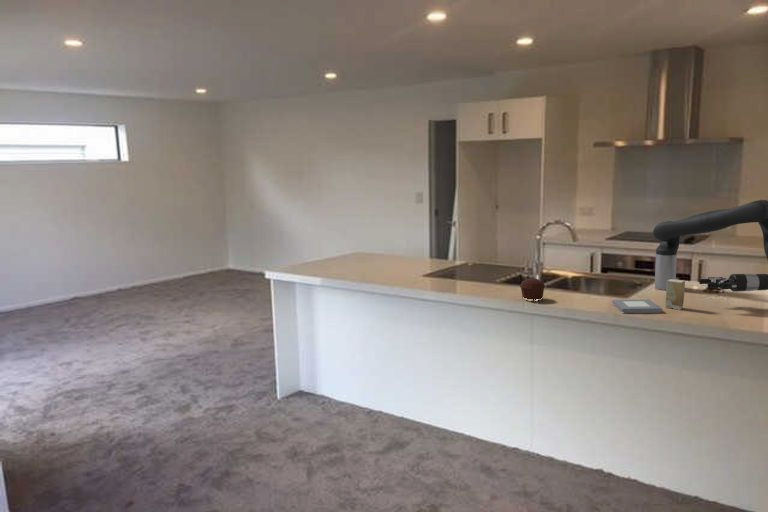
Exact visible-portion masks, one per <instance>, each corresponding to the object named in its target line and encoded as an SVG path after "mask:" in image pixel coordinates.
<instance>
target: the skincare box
mask: <svg viewBox="0 0 768 512" xmlns="http://www.w3.org/2000/svg"><path fill="white" fill-rule="evenodd" d="M685 287H686V281H685V280H681V279H676V280H674V279H670V280H668V281H667V289H666V290H665V291H666V292H665V304H664V308H665V309H671V308H673V309H672V310H677V309H680V310H682V309H684V302H685V300H684V299H685V289H686V288H685Z"/></svg>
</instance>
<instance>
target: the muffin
mask: <svg viewBox="0 0 768 512" xmlns="http://www.w3.org/2000/svg"><path fill="white" fill-rule="evenodd" d="M519 287H520V291H521V297H522V298H523V297H524V298H527V299H533V300H534V299H535V300H536V299H541V298H542V297H544V291H545V287H546V285H545V283H544V282H543V281H542V280H540V279H538V278H533V277H531V278H526V279H524V280H523V281H521V283H520V285H519ZM542 299H543V298H542Z"/></svg>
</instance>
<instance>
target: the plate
mask: <svg viewBox="0 0 768 512" xmlns="http://www.w3.org/2000/svg"><path fill="white" fill-rule="evenodd" d="M612 303H613V304H614V305H615V306H616V307H617V308H618V309H619V310H620V311H621V312H624V313H623V314H662V313H663V310H662V309H663V308H662V307H660V305H658V304H656V303H655V302H654V301H652V300H651V299H649V298H647V299H645V298H643V299H641V298H638V299H611V304H612ZM613 304H612V305H613ZM614 305H613V306H614ZM615 306H614V307H615ZM616 307H615V308H616ZM617 308H616V309H617ZM618 309H617V310H618ZM619 310H618V311H619ZM620 311H619V312H620ZM621 312H620V313H621Z"/></svg>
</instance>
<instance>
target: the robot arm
mask: <svg viewBox="0 0 768 512" xmlns="http://www.w3.org/2000/svg"><path fill="white" fill-rule="evenodd" d="M749 223H758V225H759V227H760V229H761V232H762V237H763V238H762V239H763V250H764V254H765V257H766V259H767V261H768V199H760V200H754V201H750V202H748V203H745V204H742V205H740V206H736V207H732V208H725V209H724V208H723V209H716V210H711V211H706V212H702V213H699V214H695V215H692V216H689V217H687V218H683V219H679V220H674V221H672V220H671V221H670V220H669V221H663V222H662V221H661V222H659V223H658V224H656V225H655V226H654V228H653V231H652V235H653V237H654V238H655V239H657V240H658V241H660V243H659V245H658V246H657V247H656V249H655V267H654V268H655V271H654V289H656V288H657V289H656V290H660V289H661V290H662V291H666V289H667V281H668V280H670V279H674V280H677V255H678V250H679V247H680V240H681V239H680V238H681V237H682V236H690V235H691V236H692V235H698V234H700V235H701V234H708V233H713V232H716V231H721V230H724V229H727V228H729V227H732V226H735V225H741V224H749ZM698 280H699V281H698V285H699V284H700V285H707V286H706V287H707V288H708V289H721V290H730V291H732V292H735V293H737V292H754V291H768V273H731V274H730V275H729V277H728V278H727V277H724V276H719V277H718V276H709V277H707V278H699V279H698ZM661 290H660V291H661Z"/></svg>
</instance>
